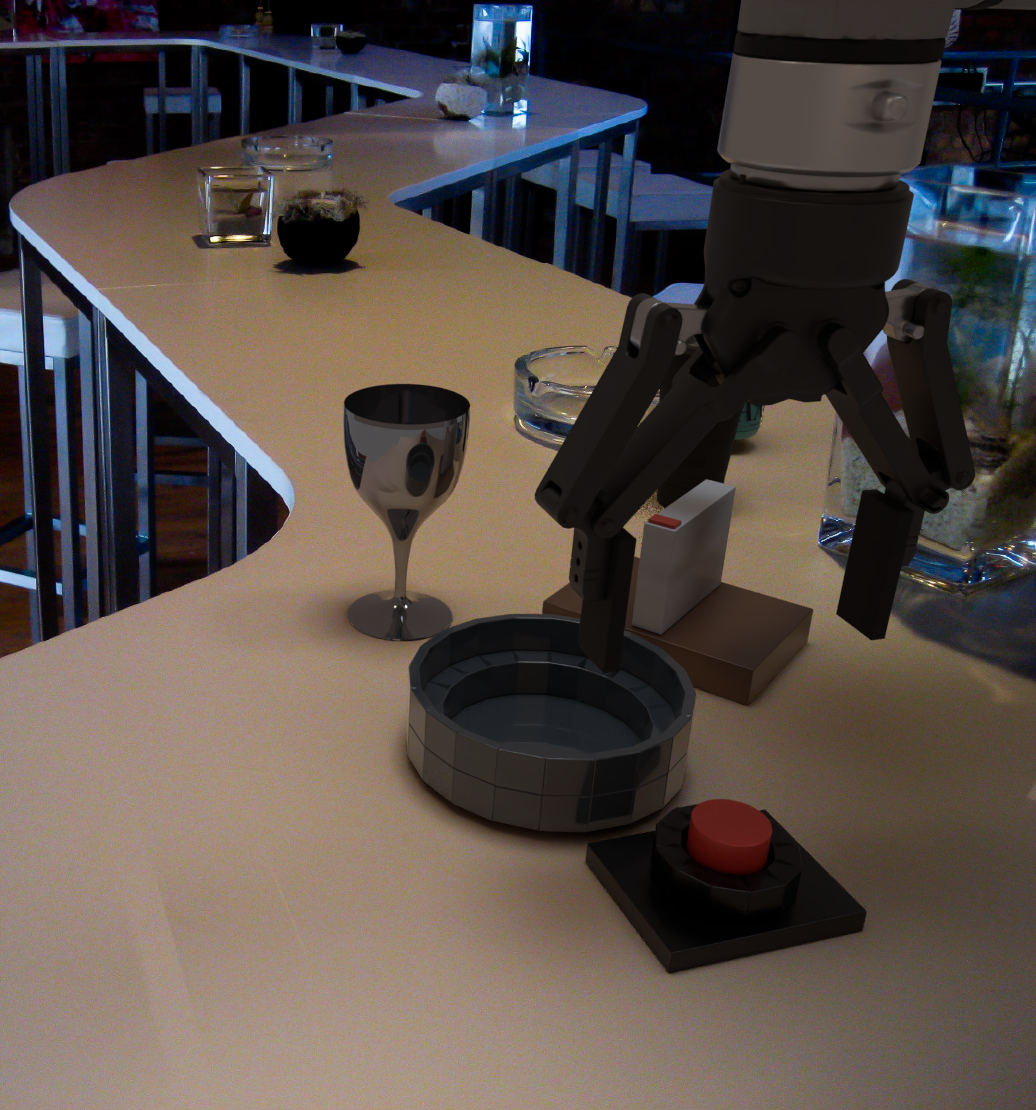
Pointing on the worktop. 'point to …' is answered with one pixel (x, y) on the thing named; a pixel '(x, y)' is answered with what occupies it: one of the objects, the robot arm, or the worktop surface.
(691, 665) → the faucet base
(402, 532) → the wine glass
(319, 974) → the worktop surface
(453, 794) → the basin
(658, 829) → the switch
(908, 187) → the robot arm
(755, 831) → the button
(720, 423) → the drinking cup
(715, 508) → the block
